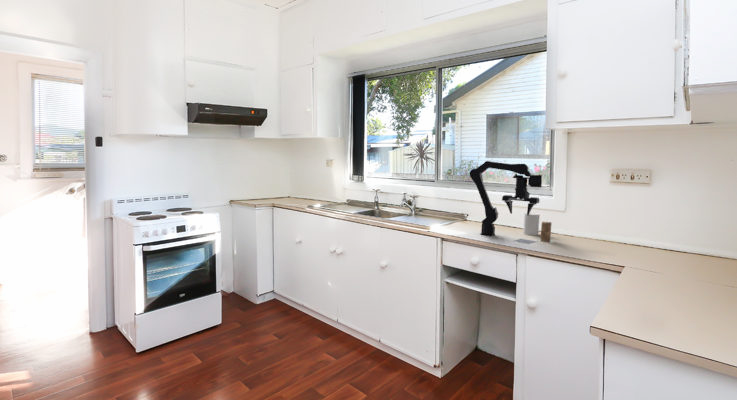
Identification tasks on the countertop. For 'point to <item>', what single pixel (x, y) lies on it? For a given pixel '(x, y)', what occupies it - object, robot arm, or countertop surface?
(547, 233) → the walnut block
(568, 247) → the countertop surface
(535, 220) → the cup
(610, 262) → the countertop surface
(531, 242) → the silicone mat
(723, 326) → the countertop surface
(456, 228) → the countertop surface
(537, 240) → the ceramic tile
